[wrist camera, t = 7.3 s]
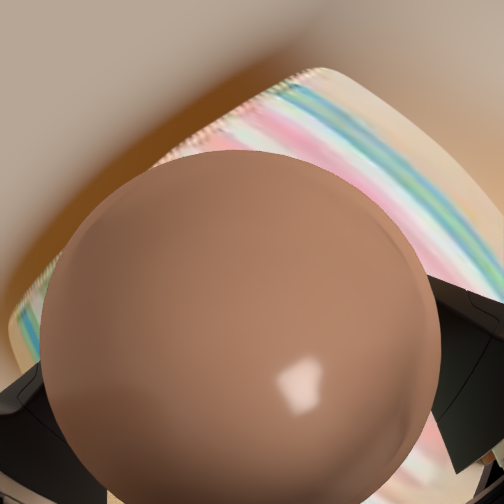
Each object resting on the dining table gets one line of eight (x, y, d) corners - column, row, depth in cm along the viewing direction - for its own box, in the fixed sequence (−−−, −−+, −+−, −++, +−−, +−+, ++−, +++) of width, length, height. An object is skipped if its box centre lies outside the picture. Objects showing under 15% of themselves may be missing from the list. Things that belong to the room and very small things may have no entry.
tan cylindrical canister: (283, 405, 14) (314, 568, 2) (192, 363, 15) (12, 401, 3) (325, 316, 16) (474, 243, 3) (235, 277, 17) (149, 118, 4)
